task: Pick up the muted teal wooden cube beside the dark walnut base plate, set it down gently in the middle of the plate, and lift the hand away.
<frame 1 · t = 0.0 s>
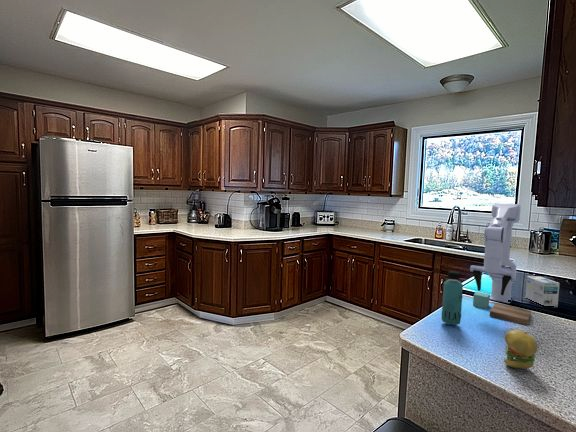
hand: (490, 292, 123), 10 cm above the counter, fingers open, 7 cm apart
light bulb box: (540, 303, 141), on the counter
walnut base: (510, 315, 125), on the counter
hamburger: (518, 369, 88), on the counter
teal cube: (480, 305, 136), on the counter
beverage bottle: (450, 325, 116), on the counter
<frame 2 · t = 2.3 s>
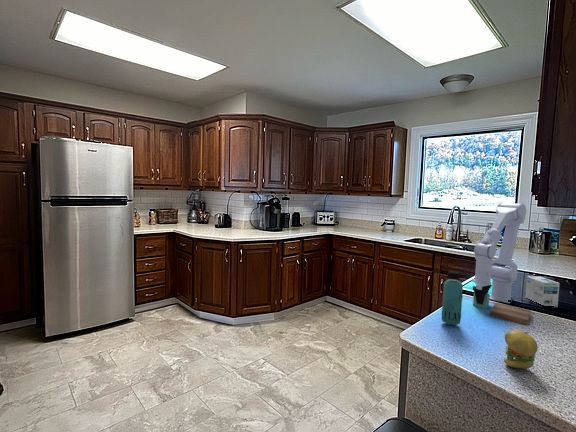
hand: (481, 302, 136), 1 cm above the counter, fingers closed on teal cube, 5 cm apart
teal cube: (480, 305, 136), on the counter, touching gripper
everything else where it was.
when the fingers open (5 cm above the counter, at t = 6.1 s): teal cube drops 1 cm, resting on walnut base.
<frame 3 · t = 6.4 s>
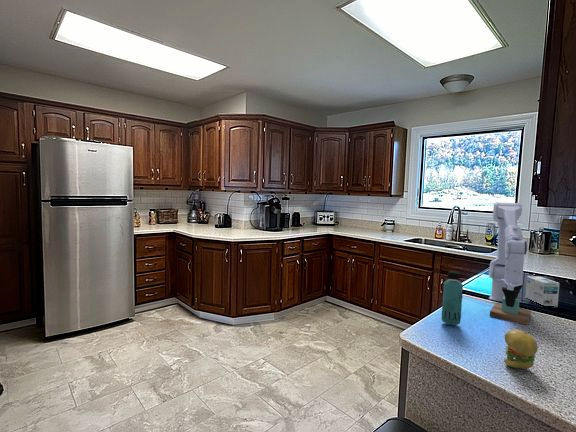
hand: (511, 303, 125), 5 cm above the counter, fingers open, 7 cm apart
teal cube: (510, 310, 125), point 2 cm above the counter, touching walnut base
everything else where it was.
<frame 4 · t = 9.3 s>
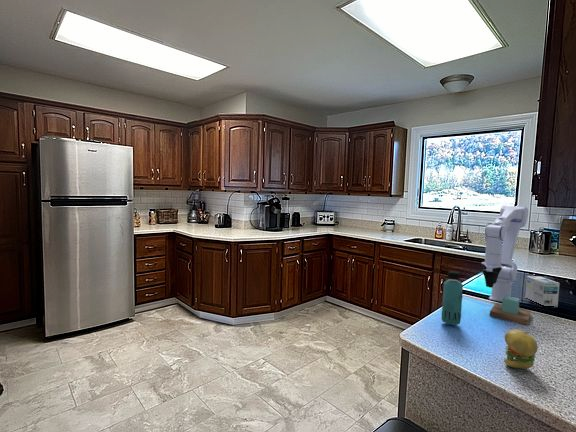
hand: (491, 285, 134), 9 cm above the counter, fingers open, 7 cm apart
nothing on the counter moved.
at the end: teal cube inside the target area on the walnut base (0.2 cm from its centre), point 2.0 cm above the walnut base's base; teal cube tilted 0°; the gripper is holding nothing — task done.
